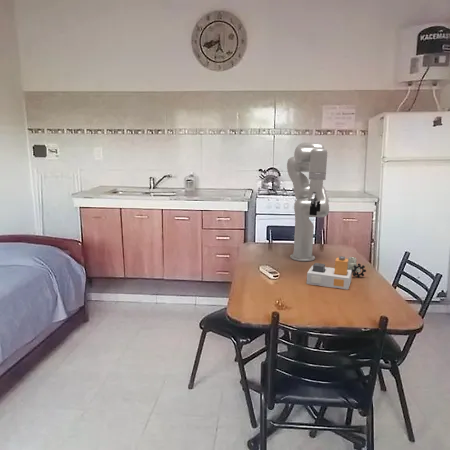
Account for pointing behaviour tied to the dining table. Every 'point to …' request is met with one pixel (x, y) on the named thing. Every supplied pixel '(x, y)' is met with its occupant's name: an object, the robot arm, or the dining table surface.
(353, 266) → the valve
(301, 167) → the robot arm
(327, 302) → the dining table surface
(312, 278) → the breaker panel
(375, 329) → the dining table surface
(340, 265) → the lockout cap
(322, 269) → the breaker
